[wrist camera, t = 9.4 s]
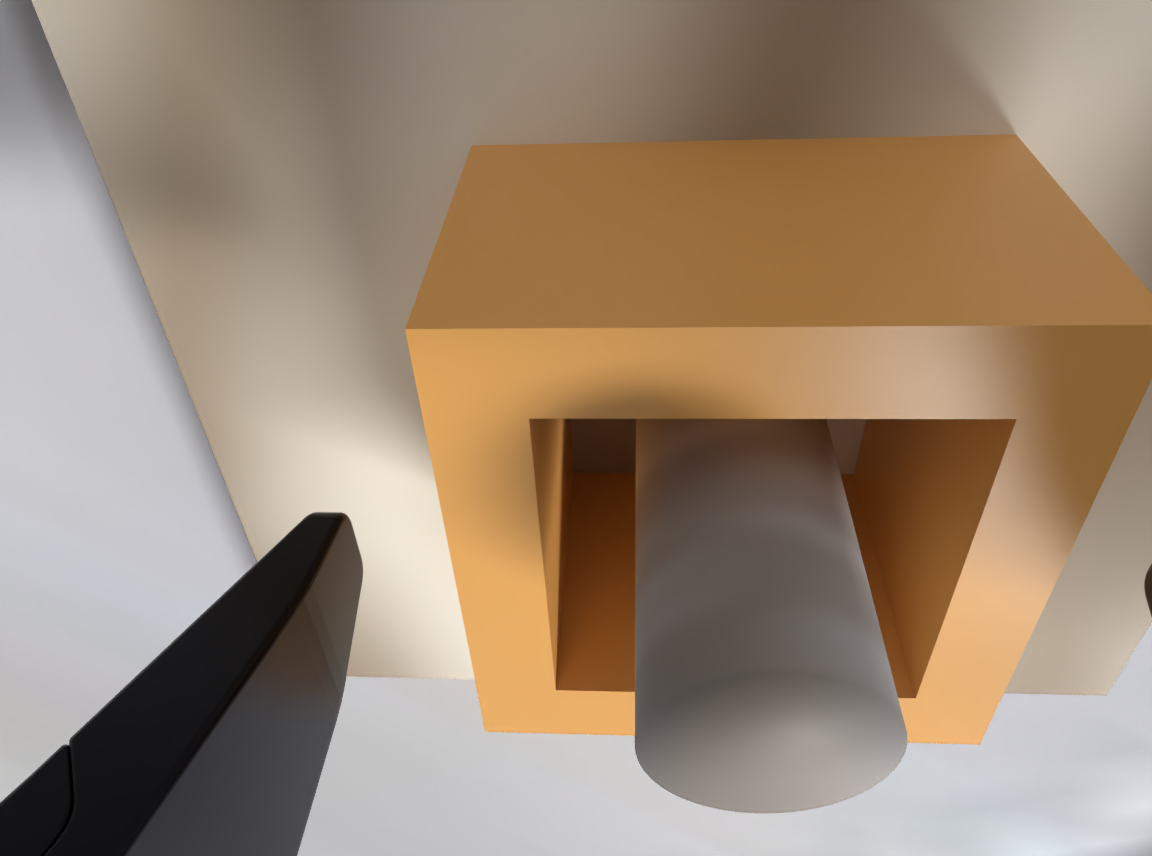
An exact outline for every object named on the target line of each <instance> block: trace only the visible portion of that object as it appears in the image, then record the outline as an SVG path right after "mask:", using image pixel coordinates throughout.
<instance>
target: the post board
mask: <svg viewBox="0 0 1152 856" xmlns="http://www.w3.org/2000/svg"><path fill="white" fill-rule="evenodd" d="M31 1H32V3H33V6H34V8H35V11H36V13H37V16H38V18H39V21H40V23H41V26H42V28H43V31H44V33H45V36H46V38H47V41H48V43H49V46H50V48H51V50H52V53H53V55H54V58H55V60H56V63H57V65H58V68H59V70H60V73H61V75H62V78H63V80H64V83H65V85H66V88H67V90H68V93H69V95H70V98H71V100H72V103H73V105H74V108H75V110H76V113H77V115H78V118H79V120H80V123H81V125H82V128H83V130H84V133H85V135H86V137H87V140H88V142H89V145H90V147H91V150H92V152H93V155H94V157H95V160H96V162H97V165H98V167H99V170H100V172H101V175H102V177H103V180H104V182H105V185H106V187H107V190H108V192H109V195H110V197H111V200H112V202H113V205H114V207H115V210H116V212H117V215H118V217H119V220H120V222H121V225H122V227H123V229H124V232H125V234H126V237H127V239H128V242H129V244H130V247H131V249H132V252H133V254H134V257H135V259H136V262H137V264H138V267H139V269H140V272H141V274H142V277H143V279H144V282H145V284H146V287H147V289H148V292H149V294H150V297H151V299H152V302H153V304H154V307H155V309H156V312H157V314H158V316H159V319H160V321H161V324H162V326H163V329H164V331H165V334H166V336H167V339H168V341H169V344H170V346H171V349H172V351H173V354H174V356H175V359H176V361H177V364H178V366H179V369H180V371H181V374H182V376H183V379H184V381H185V384H186V386H187V389H188V391H189V394H190V396H191V399H192V401H193V403H194V406H195V408H196V411H197V413H198V416H199V418H200V421H201V423H202V426H203V428H204V431H205V433H206V436H207V438H208V441H209V443H210V446H211V448H212V451H213V453H214V456H215V458H216V461H217V463H218V466H219V468H220V471H221V473H222V476H223V478H224V481H225V483H226V486H227V488H228V490H229V493H230V495H231V498H232V500H233V503H234V505H235V508H236V510H237V513H238V515H239V518H240V520H241V523H242V525H243V528H244V530H245V533H246V535H247V538H248V540H249V543H250V545H251V548H252V550H253V553H254V555H255V558H256V560H257V562H258V561H259V560H260V559H261V558H262V557H263V556H265V555H266V554H267V553H268V552H269V551H270V550H271V549H272V548H273V547H274V546H275V545H276V544H277V543H278V542H279V541H280V540H282V539H283V538H284V537H285V536H286V535H287V534H288V533H289V532H290V531H291V530H292V529H293V528H294V527H295V526H296V525H297V524H299V523H300V522H301V521H302V520H303V519H304V518H305V517H306V516H307V515H309V514H311V513H314V512H342V513H345V514H347V515H348V517H349V518H350V520H351V523H352V526H353V530H354V533H355V537H356V540H357V544H358V547H359V551H360V554H361V557H362V562H363V581H362V587H361V593H360V599H359V605H358V611H357V616H356V622H355V628H354V634H353V640H352V646H351V652H350V658H349V664H348V670H347V675H346V676H358V677H397V678H437V679H475V678H474V672H473V667H472V662H471V657H470V652H469V647H468V642H467V637H466V632H465V627H464V622H463V617H462V612H461V607H460V602H459V597H458V592H457V587H456V582H455V577H454V572H453V567H452V562H451V557H450V552H449V547H448V542H447V537H446V532H445V527H444V522H443V517H442V512H441V507H440V502H439V497H438V492H437V487H436V482H435V477H434V472H433V467H432V462H431V457H430V452H429V447H428V442H427V437H426V432H425V427H424V422H423V417H422V412H421V407H420V402H419V397H418V392H417V387H416V382H415V377H414V372H413V367H412V362H411V357H410V352H409V347H408V342H407V337H406V332H405V328H406V325H407V322H408V319H409V317H410V314H411V311H412V308H413V306H414V303H415V300H416V297H417V295H418V292H419V289H420V286H421V284H422V281H423V278H424V275H425V273H426V270H427V267H428V264H429V262H430V259H431V256H432V253H433V251H434V248H435V245H436V242H437V240H438V237H439V234H440V231H441V229H442V226H443V223H444V220H445V218H446V215H447V212H448V209H449V207H450V204H451V201H452V198H453V196H454V193H455V190H456V187H457V185H458V182H459V179H460V176H461V174H462V171H463V168H464V165H465V163H466V160H467V157H468V154H469V152H470V149H471V146H472V145H518V144H567V143H617V142H667V141H716V140H766V139H816V138H865V137H915V136H965V135H1014V134H1016V135H1017V136H1018V137H1019V138H1020V140H1021V141H1022V142H1023V143H1024V144H1025V145H1026V147H1027V148H1028V149H1029V150H1030V151H1031V153H1032V154H1033V155H1034V156H1035V157H1036V158H1037V160H1038V161H1039V162H1040V163H1041V164H1042V165H1043V167H1044V168H1045V169H1046V170H1047V171H1048V173H1049V174H1050V175H1051V176H1052V177H1053V178H1054V180H1055V181H1056V182H1057V183H1058V184H1059V186H1060V187H1061V188H1062V189H1063V190H1064V191H1065V193H1066V194H1067V195H1068V196H1069V197H1070V199H1071V200H1072V201H1073V202H1074V203H1075V204H1076V206H1077V207H1078V208H1079V209H1080V210H1081V211H1082V213H1083V214H1084V215H1085V216H1086V217H1087V219H1088V220H1089V221H1090V222H1091V223H1092V224H1093V226H1094V227H1095V228H1096V229H1097V230H1098V232H1099V233H1100V234H1101V235H1102V236H1103V237H1104V239H1105V240H1106V241H1107V242H1108V243H1109V244H1110V246H1111V247H1112V248H1113V249H1114V250H1115V252H1116V253H1117V254H1118V255H1119V256H1120V257H1121V259H1122V260H1123V261H1124V262H1125V263H1126V265H1127V266H1128V267H1129V268H1130V269H1131V270H1132V272H1133V273H1134V274H1135V275H1136V276H1137V278H1138V279H1139V280H1140V281H1141V282H1142V283H1143V285H1144V286H1145V287H1146V288H1147V289H1148V290H1149V292H1150V293H1151V294H1152V0H31ZM570 421H571V437H572V454H573V471H574V472H584V473H636V526H635V750H636V755H637V758H638V761H639V763H640V765H641V766H642V768H643V770H644V771H645V772H646V773H647V774H648V776H649V777H650V778H651V779H652V780H653V781H655V782H656V783H657V784H658V785H660V786H661V787H663V788H664V789H666V790H667V791H669V792H671V793H673V794H675V795H677V796H679V797H681V798H683V799H686V800H689V801H691V802H694V803H697V804H700V805H704V806H708V807H712V808H717V809H722V810H728V811H735V812H745V813H785V812H795V811H803V810H808V809H814V808H819V807H823V806H827V805H831V804H834V803H837V802H840V801H843V800H846V799H849V798H851V797H854V796H856V795H858V794H860V793H863V792H864V791H866V790H868V789H870V788H872V787H873V786H875V785H876V784H878V783H879V782H881V781H882V780H883V779H885V778H886V777H887V776H888V775H889V774H890V773H891V772H892V771H893V770H894V769H895V768H896V766H897V765H898V764H899V763H900V761H901V759H902V757H903V755H904V753H905V750H906V746H907V731H906V727H905V723H904V719H903V715H902V711H901V707H900V703H899V699H898V696H897V692H896V688H895V684H894V680H893V676H892V672H891V668H890V665H889V661H888V657H887V653H886V649H885V645H884V641H883V637H882V633H881V630H880V626H879V622H878V618H877V614H876V610H875V606H874V602H873V599H872V595H871V591H870V587H869V583H868V579H867V575H866V571H865V568H864V564H863V560H862V556H861V552H860V548H859V544H858V540H857V537H856V533H855V529H854V525H853V521H852V517H851V513H850V509H849V505H848V502H847V498H846V494H845V490H844V486H843V482H842V478H841V474H854V472H855V467H856V463H857V458H858V454H859V449H860V445H861V440H862V435H863V431H864V426H865V422H866V419H570ZM1151 564H1152V380H1151V382H1150V384H1149V386H1148V388H1147V390H1146V392H1145V395H1144V397H1143V399H1142V401H1141V403H1140V405H1139V407H1138V409H1137V412H1136V414H1135V416H1134V418H1133V420H1132V422H1131V424H1130V426H1129V429H1128V431H1127V433H1126V435H1125V437H1124V439H1123V441H1122V443H1121V446H1120V448H1119V450H1118V452H1117V454H1116V456H1115V458H1114V460H1113V463H1112V465H1111V467H1110V469H1109V471H1108V473H1107V475H1106V477H1105V480H1104V482H1103V484H1102V486H1101V488H1100V490H1099V492H1098V494H1097V496H1096V499H1095V501H1094V503H1093V505H1092V507H1091V509H1090V511H1089V513H1088V516H1087V518H1086V520H1085V522H1084V524H1083V526H1082V528H1081V530H1080V533H1079V535H1078V537H1077V539H1076V541H1075V543H1074V545H1073V547H1072V550H1071V552H1070V554H1069V556H1068V558H1067V560H1066V562H1065V564H1064V567H1063V569H1062V571H1061V573H1060V575H1059V577H1058V579H1057V581H1056V583H1055V586H1054V588H1053V590H1052V592H1051V594H1050V596H1049V598H1048V600H1047V603H1046V605H1045V607H1044V609H1043V611H1042V613H1041V615H1040V617H1039V620H1038V622H1037V624H1036V626H1035V628H1034V630H1033V632H1032V634H1031V637H1030V639H1029V641H1028V643H1027V645H1026V647H1025V649H1024V651H1023V654H1022V656H1021V658H1020V660H1019V662H1018V664H1017V666H1016V668H1015V671H1014V673H1013V675H1012V677H1011V679H1010V681H1009V683H1008V685H1007V687H1006V690H1005V692H1004V693H1023V694H1062V695H1101V696H1106V695H1107V694H1108V692H1109V691H1110V689H1111V687H1112V686H1113V684H1114V682H1115V681H1116V679H1117V678H1118V676H1119V674H1120V673H1121V671H1122V669H1123V668H1124V666H1125V665H1126V663H1127V661H1128V660H1129V658H1130V657H1131V655H1132V653H1133V652H1134V650H1135V648H1136V647H1137V645H1138V644H1139V642H1140V640H1141V639H1142V637H1143V635H1144V634H1145V632H1146V631H1147V629H1148V627H1149V626H1150V624H1151V622H1152V617H1151V614H1150V610H1149V607H1148V603H1147V600H1146V596H1145V590H1144V580H1145V576H1146V573H1147V571H1148V569H1149V567H1150V565H1151Z"/></svg>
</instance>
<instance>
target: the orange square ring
mask: <svg viewBox="0 0 1152 856" xmlns="http://www.w3.org/2000/svg"><path fill="white" fill-rule="evenodd" d="M405 332H406V337H407V342H408V347H409V352H410V357H411V362H412V367H413V372H414V377H415V382H416V387H417V392H418V397H419V402H420V407H421V412H422V417H423V422H424V427H425V432H426V437H427V442H428V447H429V452H430V457H431V462H432V467H433V472H434V477H435V482H436V487H437V492H438V497H439V502H440V507H441V512H442V517H443V522H444V527H445V532H446V537H447V542H448V547H449V552H450V557H451V562H452V567H453V572H454V577H455V582H456V587H457V592H458V597H459V602H460V607H461V612H462V617H463V622H464V627H465V632H466V637H467V642H468V647H469V652H470V657H471V662H472V667H473V672H474V678H475V683H476V688H477V693H478V698H479V703H480V708H481V713H482V718H483V723H484V728H485V732H517V733H555V734H594V735H632V736H635V526H636V473H584V472H574V471H573V454H572V437H571V421H570V419H866V422H865V426H864V431H863V435H862V440H861V445H860V449H859V454H858V458H857V463H856V467H855V472H854V474H841V478H842V482H843V486H844V490H845V494H846V498H847V502H848V505H849V509H850V513H851V517H852V521H853V525H854V529H855V533H856V537H857V540H858V544H859V548H860V552H861V556H862V560H863V564H864V568H865V571H866V575H867V579H868V583H869V587H870V591H871V595H872V599H873V602H874V606H875V610H876V614H877V618H878V622H879V626H880V630H881V633H882V637H883V641H884V645H885V649H886V653H887V657H888V661H889V665H890V668H891V672H892V676H893V680H894V684H895V688H896V692H897V696H898V699H899V703H900V707H901V711H902V715H903V719H904V723H905V727H906V731H907V743H941V744H979V745H980V743H981V741H982V738H983V736H984V734H985V732H986V730H987V728H988V726H989V724H990V721H991V719H992V717H993V715H994V713H995V711H996V709H997V707H998V704H999V702H1000V700H1001V698H1002V696H1003V694H1004V692H1005V690H1006V687H1007V685H1008V683H1009V681H1010V679H1011V677H1012V675H1013V673H1014V671H1015V668H1016V666H1017V664H1018V662H1019V660H1020V658H1021V656H1022V654H1023V651H1024V649H1025V647H1026V645H1027V643H1028V641H1029V639H1030V637H1031V634H1032V632H1033V630H1034V628H1035V626H1036V624H1037V622H1038V620H1039V617H1040V615H1041V613H1042V611H1043V609H1044V607H1045V605H1046V603H1047V600H1048V598H1049V596H1050V594H1051V592H1052V590H1053V588H1054V586H1055V583H1056V581H1057V579H1058V577H1059V575H1060V573H1061V571H1062V569H1063V567H1064V564H1065V562H1066V560H1067V558H1068V556H1069V554H1070V552H1071V550H1072V547H1073V545H1074V543H1075V541H1076V539H1077V537H1078V535H1079V533H1080V530H1081V528H1082V526H1083V524H1084V522H1085V520H1086V518H1087V516H1088V513H1089V511H1090V509H1091V507H1092V505H1093V503H1094V501H1095V499H1096V496H1097V494H1098V492H1099V490H1100V488H1101V486H1102V484H1103V482H1104V480H1105V477H1106V475H1107V473H1108V471H1109V469H1110V467H1111V465H1112V463H1113V460H1114V458H1115V456H1116V454H1117V452H1118V450H1119V448H1120V446H1121V443H1122V441H1123V439H1124V437H1125V435H1126V433H1127V431H1128V429H1129V426H1130V424H1131V422H1132V420H1133V418H1134V416H1135V414H1136V412H1137V409H1138V407H1139V405H1140V403H1141V401H1142V399H1143V397H1144V395H1145V392H1146V390H1147V388H1148V386H1149V384H1150V382H1151V380H1152V294H1151V293H1150V292H1149V290H1148V289H1147V288H1146V287H1145V286H1144V285H1143V283H1142V282H1141V281H1140V280H1139V279H1138V278H1137V276H1136V275H1135V274H1134V273H1133V272H1132V270H1131V269H1130V268H1129V267H1128V266H1127V265H1126V263H1125V262H1124V261H1123V260H1122V259H1121V257H1120V256H1119V255H1118V254H1117V253H1116V252H1115V250H1114V249H1113V248H1112V247H1111V246H1110V244H1109V243H1108V242H1107V241H1106V240H1105V239H1104V237H1103V236H1102V235H1101V234H1100V233H1099V232H1098V230H1097V229H1096V228H1095V227H1094V226H1093V224H1092V223H1091V222H1090V221H1089V220H1088V219H1087V217H1086V216H1085V215H1084V214H1083V213H1082V211H1081V210H1080V209H1079V208H1078V207H1077V206H1076V204H1075V203H1074V202H1073V201H1072V200H1071V199H1070V197H1069V196H1068V195H1067V194H1066V193H1065V191H1064V190H1063V189H1062V188H1061V187H1060V186H1059V184H1058V183H1057V182H1056V181H1055V180H1054V178H1053V177H1052V176H1051V175H1050V174H1049V173H1048V171H1047V170H1046V169H1045V168H1044V167H1043V165H1042V164H1041V163H1040V162H1039V161H1038V160H1037V158H1036V157H1035V156H1034V155H1033V154H1032V153H1031V151H1030V150H1029V149H1028V148H1027V147H1026V145H1025V144H1024V143H1023V142H1022V141H1021V140H1020V138H1019V137H1018V136H1017V135H1016V134H1014V135H965V136H915V137H865V138H816V139H766V140H716V141H667V142H617V143H567V144H518V145H472V146H471V149H470V152H469V154H468V157H467V160H466V163H465V165H464V168H463V171H462V174H461V176H460V179H459V182H458V185H457V187H456V190H455V193H454V196H453V198H452V201H451V204H450V207H449V209H448V212H447V215H446V218H445V220H444V223H443V226H442V229H441V231H440V234H439V237H438V240H437V242H436V245H435V248H434V251H433V253H432V256H431V259H430V262H429V264H428V267H427V270H426V273H425V275H424V278H423V281H422V284H421V286H420V289H419V292H418V295H417V297H416V300H415V303H414V306H413V308H412V311H411V314H410V317H409V319H408V322H407V325H406V328H405Z"/></svg>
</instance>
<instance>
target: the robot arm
mask: <svg viewBox="0 0 1152 856" xmlns="http://www.w3.org/2000/svg"><path fill="white" fill-rule="evenodd" d="M362 581H363V562H362V557H361V554H360V551H359V547H358V544H357V540H356V537H355V533H354V530H353V526H352V523H351V520H350V518H349V517H348V515H347V514H345V513H342V512H314V513H311V514H309V515H307V516H306V517H305V518H304V519H303V520H302V521H301V522H300V523H299V524H297V525H296V526H295V527H294V528H293V529H292V530H291V531H290V532H289V533H288V534H287V535H286V536H285V537H284V538H283V539H282V540H280V541H279V542H278V543H277V544H276V545H275V546H274V547H273V548H272V549H271V550H270V551H269V552H268V553H267V554H266V555H265V556H263V557H262V558H261V559H260V560H259V561H258V562H257V563H256V564H255V565H254V566H253V567H252V568H251V569H250V570H249V571H248V572H246V573H245V574H244V575H243V576H242V577H241V578H240V579H239V580H238V581H237V582H236V583H235V584H234V585H233V586H232V587H231V588H229V589H228V590H227V591H226V592H225V593H224V594H223V595H222V596H221V597H220V598H219V599H218V600H217V601H216V602H215V603H214V604H212V605H211V606H210V607H209V608H208V609H207V610H206V611H205V612H204V613H203V614H202V615H201V616H200V617H199V618H198V619H197V620H195V621H194V622H193V623H192V624H191V625H190V626H189V627H188V628H187V629H186V630H185V631H184V632H183V633H182V634H181V635H180V636H178V637H177V638H176V639H175V640H174V641H173V642H172V643H171V644H170V645H169V646H168V647H167V648H166V649H165V650H164V651H163V652H161V653H160V654H159V655H158V656H157V657H156V658H155V659H154V660H153V661H152V662H151V663H150V664H149V665H148V666H147V667H146V668H144V669H143V670H142V671H141V672H140V673H139V674H138V675H137V676H136V677H135V678H134V679H133V680H132V681H131V682H130V683H129V684H127V685H126V686H125V687H124V688H123V689H122V690H121V691H120V692H119V693H118V694H117V695H116V696H115V697H114V698H113V699H112V700H110V701H109V702H108V703H107V704H106V705H105V706H104V707H103V708H102V709H101V710H100V711H99V712H98V713H97V714H96V715H95V716H93V717H92V718H91V719H90V720H89V721H88V722H87V723H86V724H85V725H84V726H83V727H82V728H81V729H80V730H79V731H78V732H76V733H75V734H74V735H73V736H72V737H71V738H70V741H69V745H63V746H61V747H60V748H59V749H58V750H57V751H56V752H55V753H54V754H53V755H52V756H51V757H50V758H48V759H47V760H46V761H45V762H44V763H43V764H42V765H41V766H40V767H39V768H38V769H37V770H36V771H35V772H34V773H32V774H31V775H30V776H29V777H28V778H27V779H26V780H25V781H24V782H23V783H21V784H20V785H19V786H18V787H17V788H16V789H15V790H14V791H13V792H11V793H10V794H9V795H8V796H7V797H6V798H5V799H4V800H3V801H2V802H0V856H297V854H298V851H299V847H300V844H301V840H302V837H303V834H304V830H305V827H306V823H307V820H308V817H309V813H310V810H311V806H312V803H313V799H314V796H315V793H316V789H317V786H318V782H319V779H320V776H321V772H322V769H323V765H324V762H325V758H326V755H327V752H328V748H329V745H330V741H331V738H332V735H333V731H334V728H335V724H336V721H337V717H338V713H339V709H340V706H341V702H342V697H343V692H344V687H345V681H346V675H347V670H348V664H349V658H350V652H351V646H352V640H353V634H354V628H355V622H356V616H357V611H358V605H359V599H360V593H361V587H362ZM1144 590H1145V596H1146V600H1147V603H1148V607H1149V610H1150V614H1151V617H1152V564H1151V565H1150V567H1149V569H1148V571H1147V573H1146V576H1145V580H1144Z"/></svg>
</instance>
